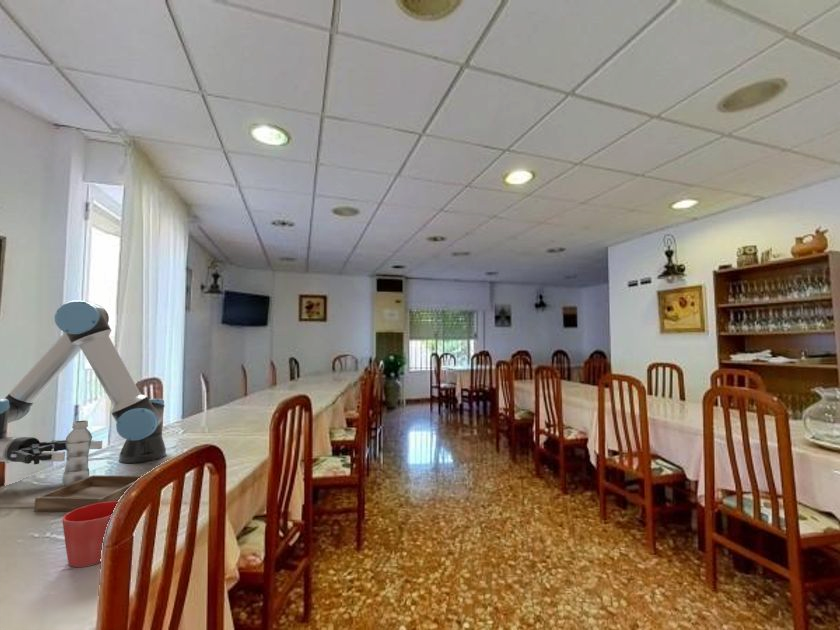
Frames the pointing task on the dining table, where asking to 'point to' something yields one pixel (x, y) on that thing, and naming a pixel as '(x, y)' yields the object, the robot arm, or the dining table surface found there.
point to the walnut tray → (84, 493)
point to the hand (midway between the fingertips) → (83, 450)
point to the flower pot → (86, 533)
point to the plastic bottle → (77, 453)
